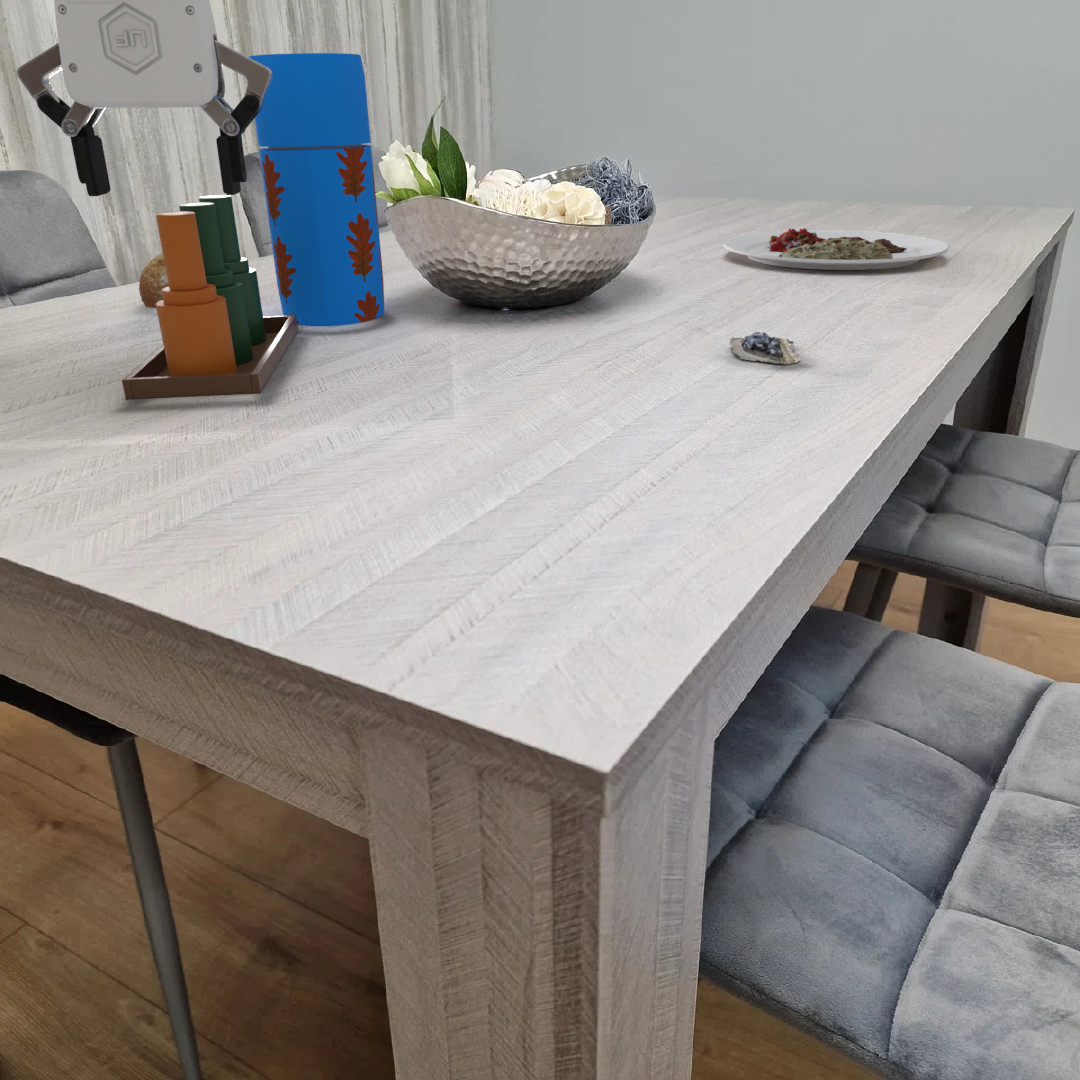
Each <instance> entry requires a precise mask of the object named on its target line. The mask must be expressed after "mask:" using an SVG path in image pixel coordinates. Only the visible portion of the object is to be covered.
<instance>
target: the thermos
mask: <svg viewBox="0 0 1080 1080" xmlns="http://www.w3.org/2000/svg"><path fill="white" fill-rule="evenodd" d="M248 57H249V58H251V59H252V60H254V61H256V62H258V63H260V64H262V65H264V66H265V67H267V68H269V69H270V70H271V71H272V73H273V78H272V81H271V84H270V87H269V89H268V92H267V95H266V98H265V100H264V102H263V106H262V109H261V111H260V112H259V113H258V115H257V116H256V117H255V118H254V119H253V120H254V124H255V132H256V141H257V146H258V147H262V148H258V154H259V163H260V169H261V176H262V184H263V191H264V198H265V205H266V213H267V219H268V226H269V234H270V241H271V248H272V255H273V256H272V257H273V262H274V263H273V264H274V270H275V278H276V284H277V290H278V296H279V301H280V307H281V310H282V316H291V315H296V317H297V324H298V326H306V327H334V326H335V327H336V326H347V325H355V324H361V323H366V322H369V321H374V320H377V319H379V318H381V317H383V316H384V315H385V287H384V272H383V262H382V252H381V251H382V250H381V249H382V248H381V239H380V228H379V218H378V206H377V196H376V183H375V173H374V161H373V160H374V159H373V151H372V145H371V142H372V138H371V128H370V119H369V108H368V95H367V86H366V85H367V84H366V75H365V74H366V73H365V70H364V64H363V60H362V55H361V54H357V53H341V52H340V53H334V52H332V53H331V52H312V53H310V52H305V53H304V52H302V53H300V52H299V53H272V54H255V55H250V56H248Z"/></svg>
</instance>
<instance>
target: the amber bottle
mask: <svg viewBox="0 0 1080 1080" xmlns="http://www.w3.org/2000/svg"><path fill="white" fill-rule="evenodd" d="M155 218H156V224H157V229H158V234H159V239H160V240H159V241H160V245H161V250H162V253H163V257H164V262H165V268H166V273H167V278H168V284H169V287H165V288H163V289H162V290H161V291H162V296H163V300H161V301H158V302H157V303H156V307H155V308H156V314H157V319H158V325H159V329H160V335H161V339H162V344H163V345H164V350H165V355H166V361H167V366H168V371H169V376H185V375H207V374H229V373H237V367H236V361H235V355H234V349H233V342H232V336H231V330H230V324H229V317H228V311H227V305H226V299H225V297H223V296H219V295H217V293H216V287H215V285H213V284H207V281H206V275H205V269H204V263H203V257H202V251H201V245H200V239H199V234H198V228H197V222H196V216H195V213H194V212H188V211H181V212H180V211H167V212H160V213H156V215H155Z"/></svg>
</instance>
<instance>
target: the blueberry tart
mask: <svg viewBox="0 0 1080 1080" xmlns="http://www.w3.org/2000/svg"><path fill="white" fill-rule="evenodd" d="M729 345H731V346H732V347H731V349H732V350H731V351H732V353H733V354H735V355H737V357H739V359H740V360H746V361H752V362H756V361H758V362H759V361H760V362H765V363H772V364H778V365H780V364H781V365H783V366H784V365H786V366H787V365H792V364H797V363H798V362H799V361H801V359H802V357H800V356H799V355H800V354H799V353H794V351H793V350H798V348H797V347H796V346H797V345H798V343H796V344H794V341H793V340H790V339H788V338H783V337H777V336H769V334H767V333H766V332H763V331H762V332H760V331H755V332H753V333H751V334H749V335H746V336H744V337H731V338H729Z"/></svg>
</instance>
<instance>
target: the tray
mask: <svg viewBox="0 0 1080 1080" xmlns="http://www.w3.org/2000/svg"><path fill="white" fill-rule="evenodd" d="M263 321H264V328H265V334H266V341H265V342H263V343H261V344H258V345H255V346H252V352H253V359H252V360H251V361H249V362H246V363H243V364H240V365H236V367H237V373H229V374H207V375H185V376H169V371H168V366H167V361H166V355H165V350H164V345H163V343H162V344H161V345H160V346H158V347H157V348H156V349H155V350H154V351H153V352H152V353H151V354H150V355H149V356H147V357H146V358H145V359H144V360H143V361H142V362H141V363H140V364H138V365H137V366H136V367H135V368H133V370H132V371H131V372H129V373H128V374H127V375H126V376H125V377H123V378H122V379H121V383H122V389H123V393H124V397H125V401H129V400H131V401H132V400H150V399H151V400H152V399H153V400H155V399H170V398H171V399H172V398H194V397H196V398H197V397H216V396H217V397H218V396H234V395H235V396H236V395H237V396H238V395H259V394H262V392H263V390H264V389H265V387H266V385H267V384H268V382H269V381H270V380H271V377H272V376H273V374H274V373H275V371H276V369H277V367H278V365H279V364H280V363H281V361H282V359H283V357H284V356H285V354H286V352H287V351H288V349H289V347H290V346H291V344H292V342H293V341H294V339H295V337H296V336H297V334H298V333H299V325H298V324H297V317H296V315H291V316H283V315H269V316H268V315H267V316H266V315H265V316H263Z"/></svg>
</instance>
